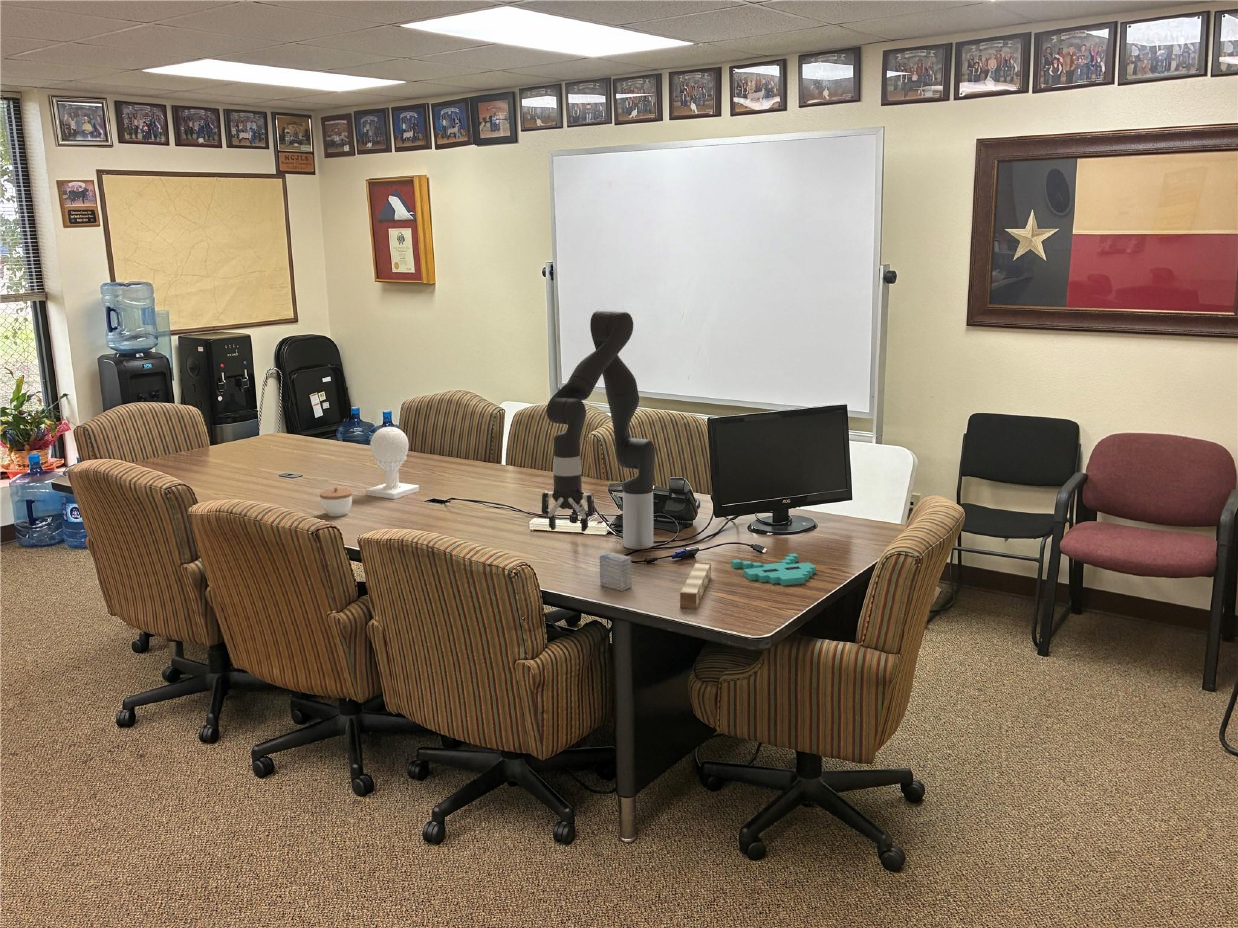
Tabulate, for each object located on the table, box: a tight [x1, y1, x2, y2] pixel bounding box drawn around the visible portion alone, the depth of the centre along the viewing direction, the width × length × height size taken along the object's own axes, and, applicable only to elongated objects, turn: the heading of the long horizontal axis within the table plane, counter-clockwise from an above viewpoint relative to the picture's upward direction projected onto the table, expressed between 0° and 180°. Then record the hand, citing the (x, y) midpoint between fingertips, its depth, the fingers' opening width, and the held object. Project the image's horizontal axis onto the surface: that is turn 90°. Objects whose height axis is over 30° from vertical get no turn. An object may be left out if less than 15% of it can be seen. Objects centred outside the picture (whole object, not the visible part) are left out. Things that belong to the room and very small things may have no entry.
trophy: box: [365, 426, 420, 500], centre depth 385 cm, size 14×14×25 cm
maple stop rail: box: [679, 561, 712, 610], centre depth 278 cm, size 26×4×4 cm, turn 167°
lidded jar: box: [319, 487, 353, 517], centre depth 359 cm, size 11×11×9 cm
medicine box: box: [599, 551, 633, 592], centre depth 283 cm, size 8×4×9 cm, turn 48°
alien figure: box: [730, 553, 817, 587], centre depth 293 cm, size 20×2×20 cm
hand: (568, 530), depth 283 cm, fingers open, 8 cm apart
